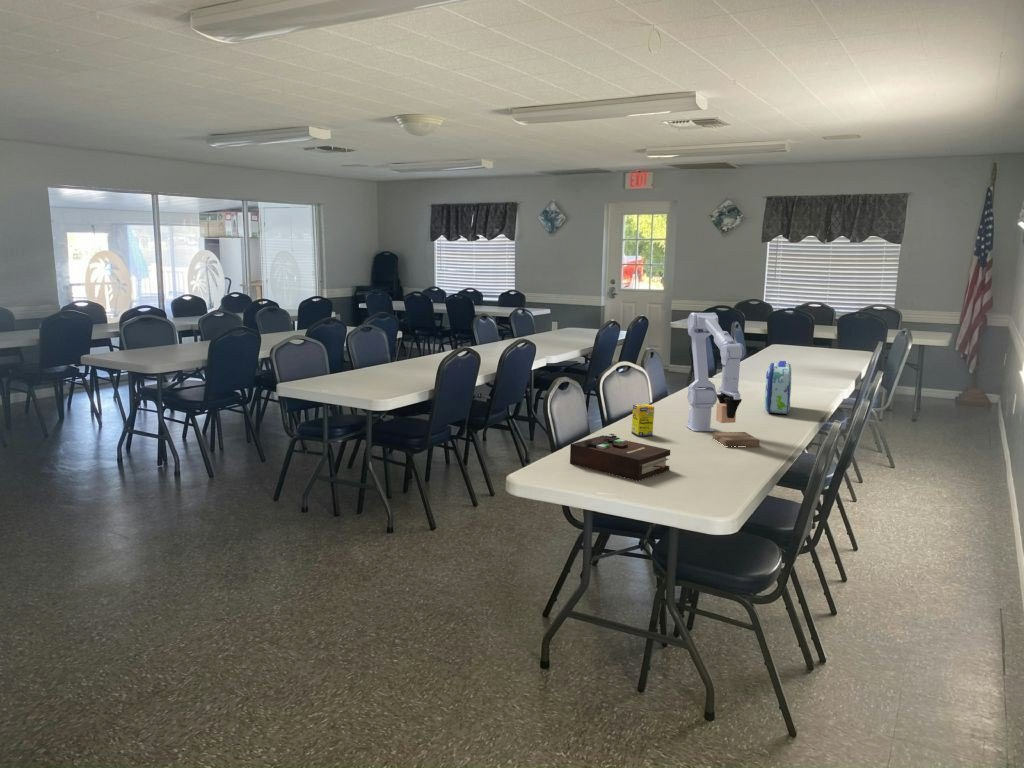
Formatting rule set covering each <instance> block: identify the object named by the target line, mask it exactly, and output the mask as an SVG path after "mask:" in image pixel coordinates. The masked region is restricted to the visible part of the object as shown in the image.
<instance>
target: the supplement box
mask: <svg viewBox="0 0 1024 768" xmlns="http://www.w3.org/2000/svg"><path fill="white" fill-rule="evenodd" d="M654 417H655V407H654V406H653V405H651V404H649V403H646V404H645V403H641V404H635V403H633V404H632V417H631V434H633V435H634V436H636V437H637V438H638V437H639V438H640V436H641V437H653V435H654V434H653V433H654V431H653V430H654Z"/></svg>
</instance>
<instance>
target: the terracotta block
mask: <svg viewBox="0 0 1024 768" xmlns="http://www.w3.org/2000/svg"><path fill="white" fill-rule="evenodd" d="M715 410H716V412H715V413H716V416H715V418H716V419H715V420H716V421H718V422H719V423H720V424H731V423H732V424H733V423H736V415H737V412H736V413H735V416H734V418H728V417H727V406H726V403H719V402H718V403H717V402H716V409H715Z"/></svg>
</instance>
